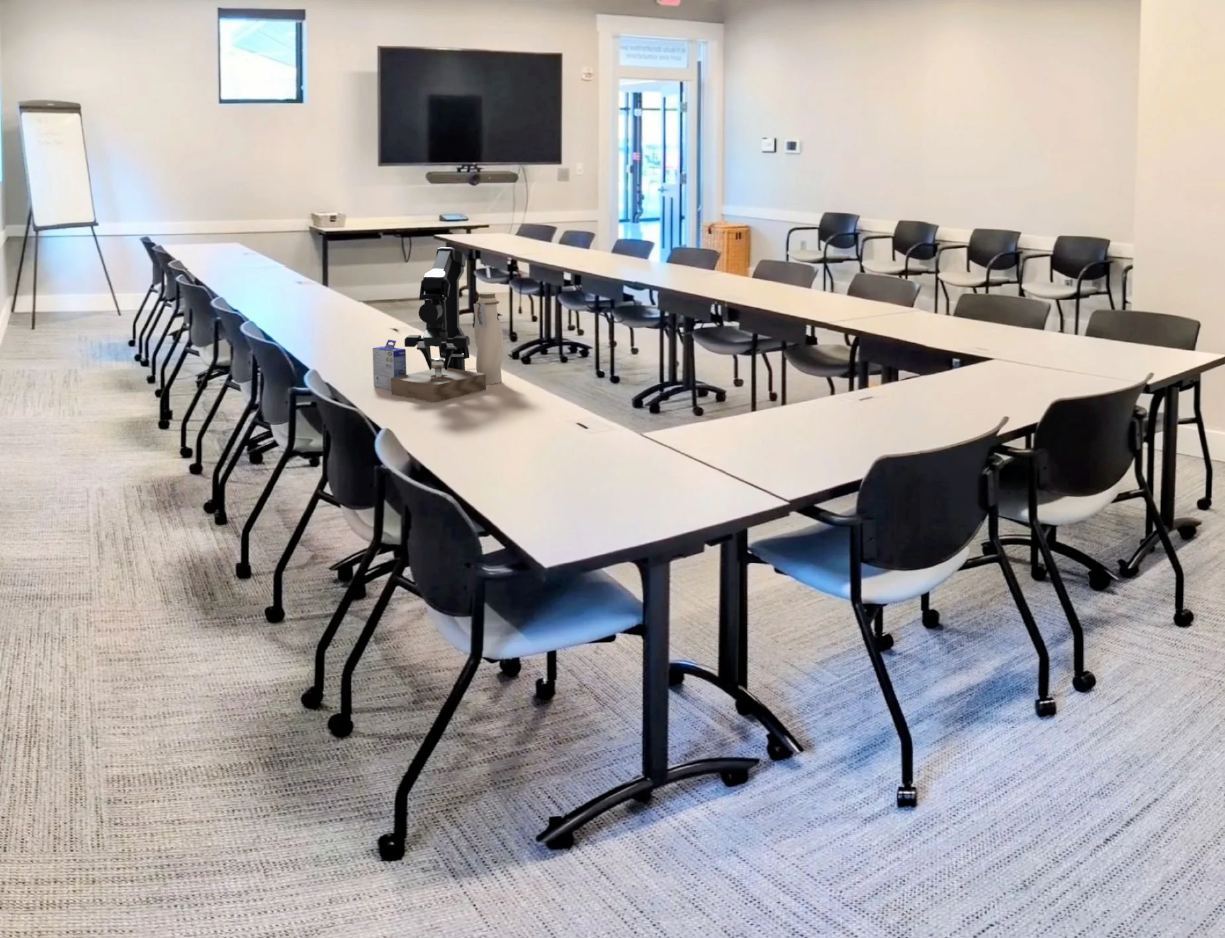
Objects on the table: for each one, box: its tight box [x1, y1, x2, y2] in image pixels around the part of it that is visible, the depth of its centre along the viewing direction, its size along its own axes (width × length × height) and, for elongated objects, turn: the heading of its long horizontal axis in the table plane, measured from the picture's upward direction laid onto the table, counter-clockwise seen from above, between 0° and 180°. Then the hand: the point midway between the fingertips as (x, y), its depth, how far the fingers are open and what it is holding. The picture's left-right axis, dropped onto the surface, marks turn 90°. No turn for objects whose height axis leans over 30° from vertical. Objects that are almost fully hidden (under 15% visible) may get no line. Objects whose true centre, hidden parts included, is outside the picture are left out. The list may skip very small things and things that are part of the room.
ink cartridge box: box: [372, 339, 407, 390], centre depth 347 cm, size 10×6×14 cm, turn 53°
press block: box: [390, 368, 487, 403], centre depth 342 cm, size 22×18×5 cm
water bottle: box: [473, 291, 504, 385], centre depth 353 cm, size 10×9×28 cm
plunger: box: [431, 357, 445, 378], centre depth 341 cm, size 4×4×9 cm
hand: (438, 369), depth 341 cm, fingers closed on plunger, 4 cm apart
